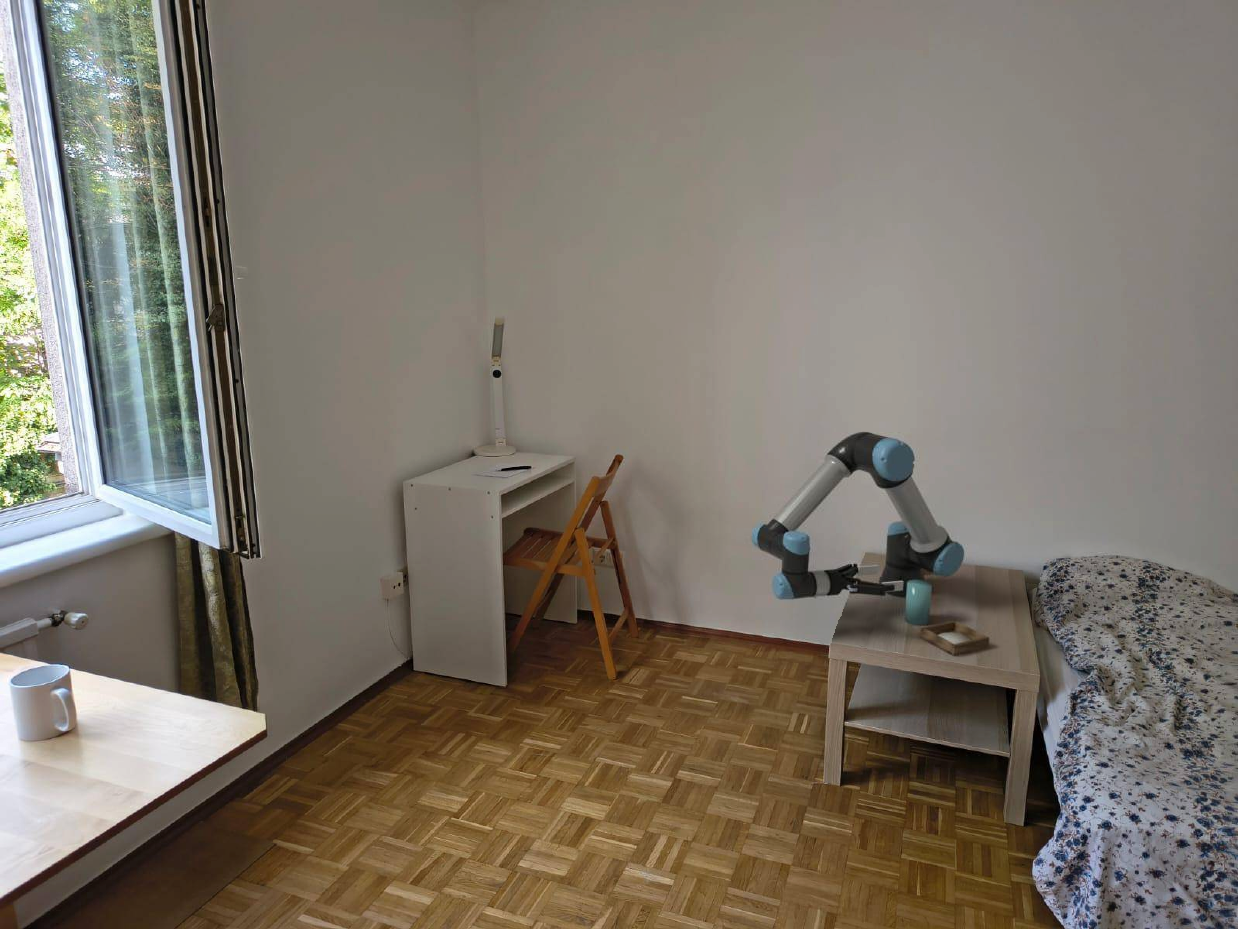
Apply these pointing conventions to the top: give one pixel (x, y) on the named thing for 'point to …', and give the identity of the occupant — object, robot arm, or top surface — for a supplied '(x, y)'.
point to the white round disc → (954, 637)
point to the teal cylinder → (918, 602)
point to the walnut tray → (975, 637)
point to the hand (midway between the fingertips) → (889, 577)
